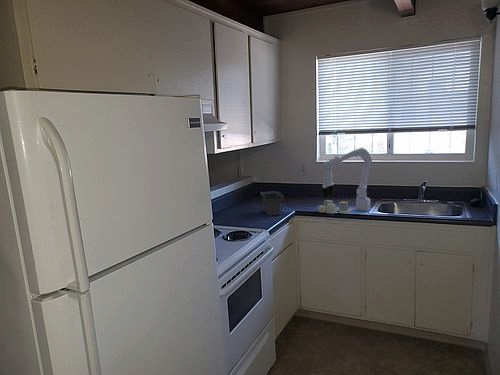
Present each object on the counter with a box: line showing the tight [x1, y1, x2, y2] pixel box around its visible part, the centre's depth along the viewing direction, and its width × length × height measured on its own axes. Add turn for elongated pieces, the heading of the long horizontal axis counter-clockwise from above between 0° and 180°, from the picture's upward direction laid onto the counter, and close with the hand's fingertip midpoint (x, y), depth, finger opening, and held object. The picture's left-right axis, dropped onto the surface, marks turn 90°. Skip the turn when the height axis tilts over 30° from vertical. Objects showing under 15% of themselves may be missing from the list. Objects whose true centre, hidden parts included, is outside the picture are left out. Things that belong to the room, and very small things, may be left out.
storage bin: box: [260, 190, 285, 217], centre depth 271 cm, size 21×16×14 cm
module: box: [325, 203, 336, 215], centre depth 265 cm, size 5×4×6 cm
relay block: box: [317, 205, 326, 213], centre depth 269 cm, size 4×4×4 cm
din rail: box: [322, 199, 354, 213], centre depth 272 cm, size 22×8×6 cm, turn 55°
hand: (328, 196), depth 273 cm, fingers open, 7 cm apart
